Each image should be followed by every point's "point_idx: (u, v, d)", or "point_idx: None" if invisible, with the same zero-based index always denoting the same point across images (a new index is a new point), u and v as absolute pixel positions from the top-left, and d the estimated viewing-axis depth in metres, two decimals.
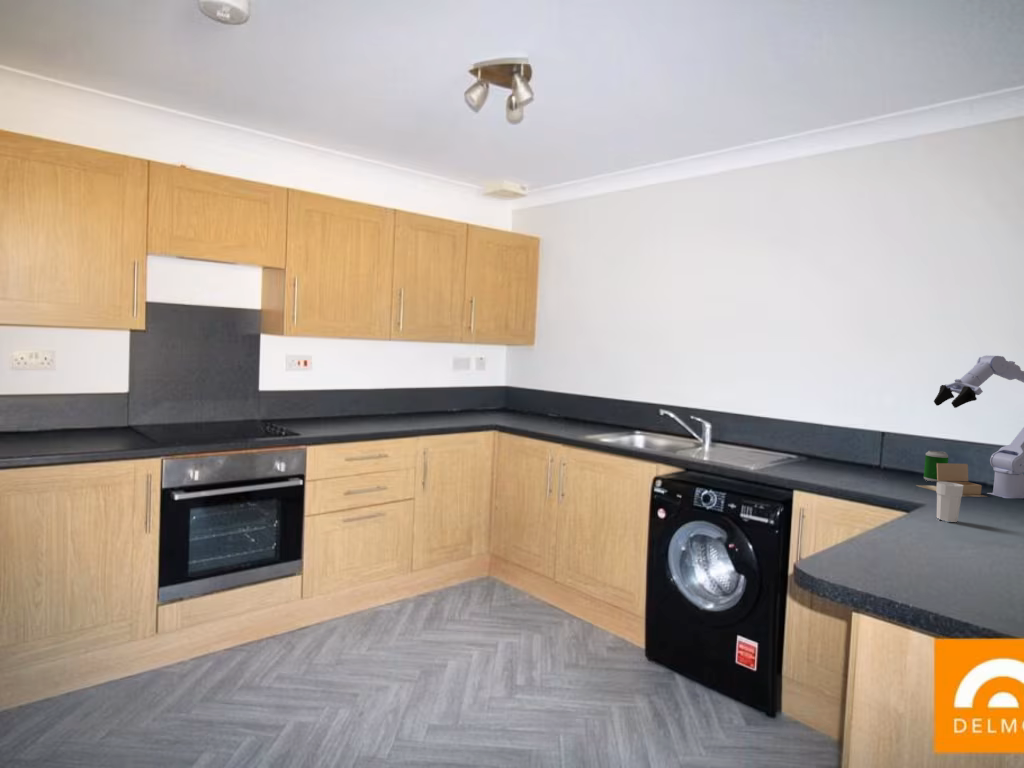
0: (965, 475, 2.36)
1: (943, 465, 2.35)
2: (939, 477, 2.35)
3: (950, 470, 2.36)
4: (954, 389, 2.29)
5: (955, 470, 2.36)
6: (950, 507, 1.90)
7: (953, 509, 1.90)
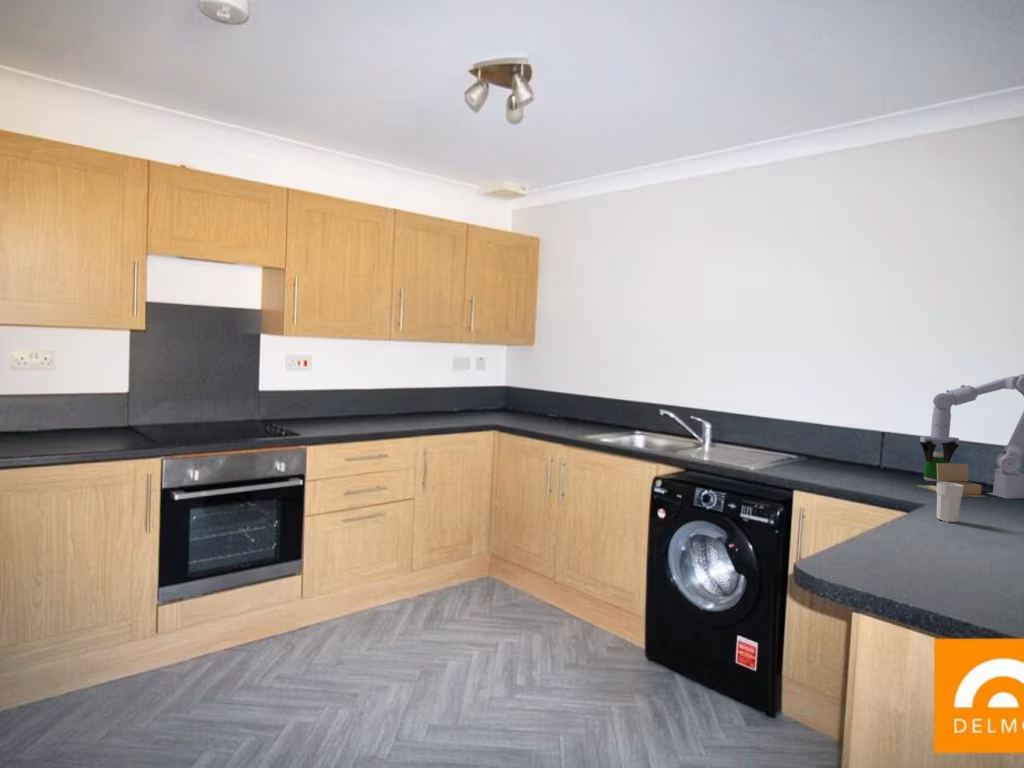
0: (965, 475, 2.36)
1: (943, 465, 2.35)
2: (939, 477, 2.35)
3: (950, 470, 2.36)
4: None
5: (955, 470, 2.36)
6: (950, 507, 1.90)
7: (953, 509, 1.90)
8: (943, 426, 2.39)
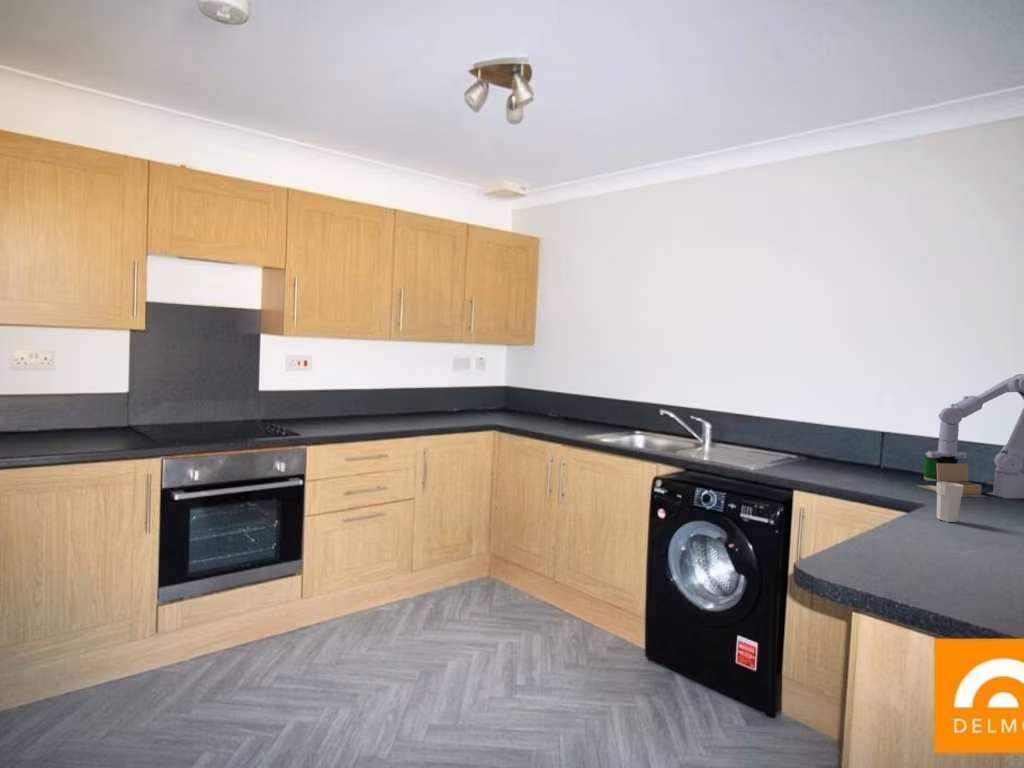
0: (965, 475, 2.36)
1: (943, 465, 2.35)
2: (939, 477, 2.35)
3: (950, 470, 2.36)
4: None
5: (955, 470, 2.36)
6: (950, 507, 1.90)
7: (953, 509, 1.90)
8: (950, 441, 2.36)
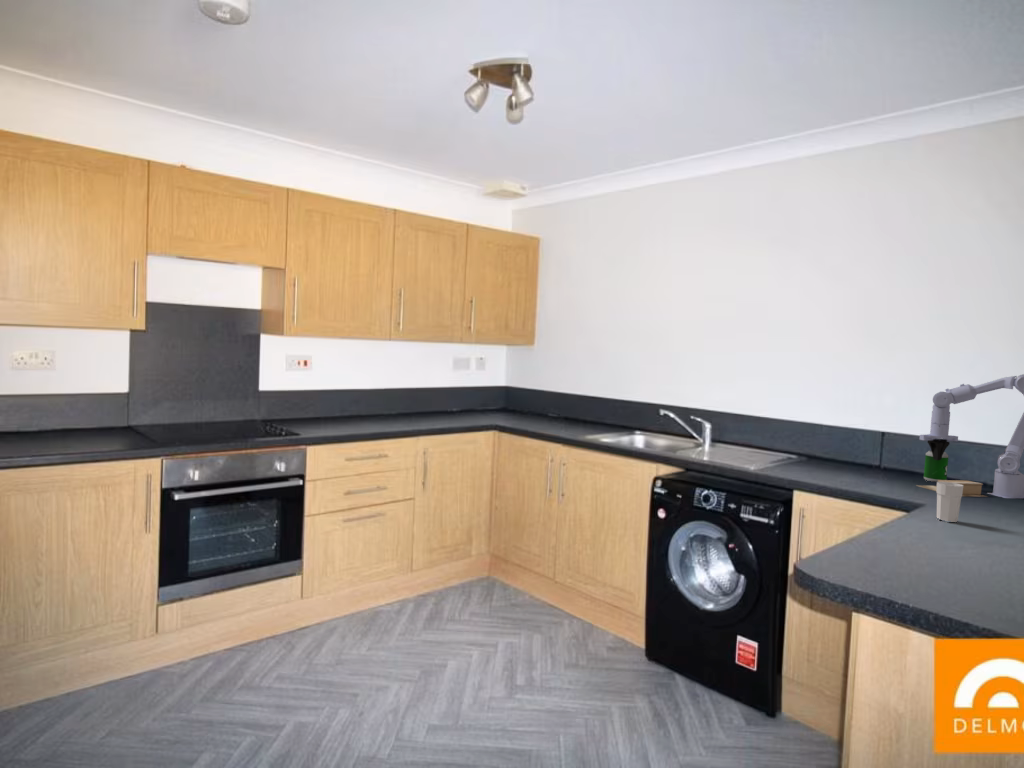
0: (970, 482, 2.35)
1: None
2: (942, 481, 2.33)
3: None
4: None
5: None
6: (950, 507, 1.90)
7: (953, 509, 1.90)
8: (942, 424, 2.41)
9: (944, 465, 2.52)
